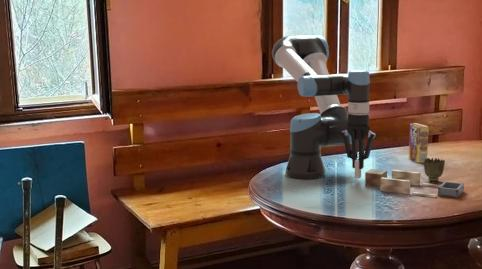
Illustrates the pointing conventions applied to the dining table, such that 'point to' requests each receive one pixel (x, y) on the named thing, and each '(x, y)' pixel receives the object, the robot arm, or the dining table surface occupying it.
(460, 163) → the dining table surface
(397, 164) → the dining table surface
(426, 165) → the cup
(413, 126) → the candy box
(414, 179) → the twin plank rail frame
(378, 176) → the block
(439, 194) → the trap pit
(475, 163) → the dining table surface
